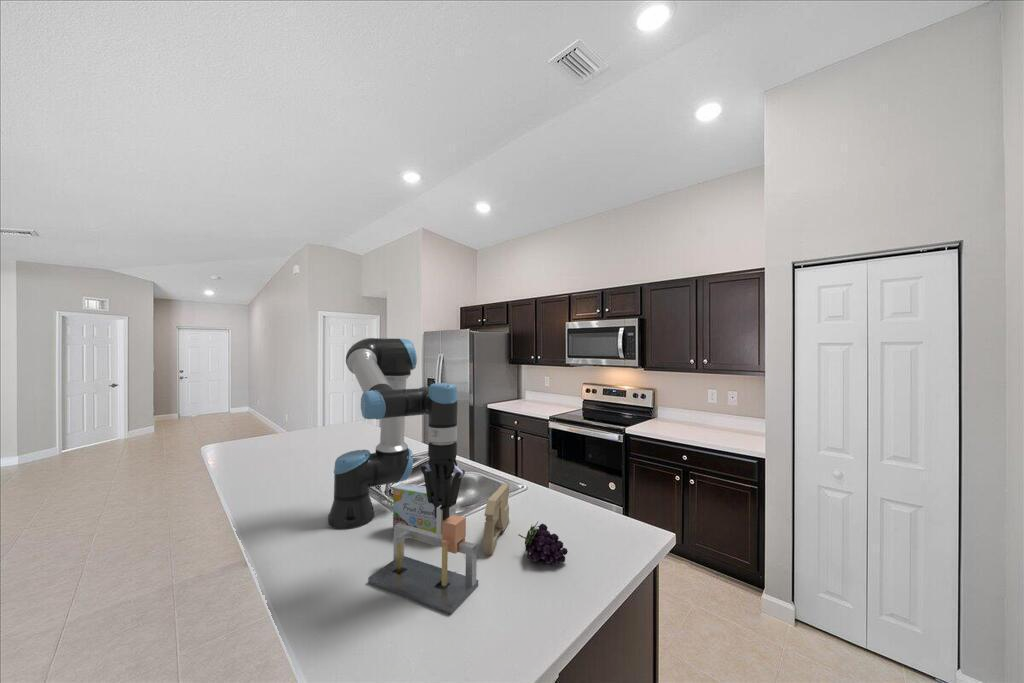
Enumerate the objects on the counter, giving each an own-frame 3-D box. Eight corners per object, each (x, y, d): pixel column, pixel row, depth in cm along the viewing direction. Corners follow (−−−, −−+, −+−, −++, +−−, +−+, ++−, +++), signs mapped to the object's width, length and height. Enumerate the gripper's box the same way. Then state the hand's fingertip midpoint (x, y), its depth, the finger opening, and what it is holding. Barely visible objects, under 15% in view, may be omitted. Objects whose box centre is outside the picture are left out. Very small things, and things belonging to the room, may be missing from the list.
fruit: (559, 581, 104) (509, 559, 108) (566, 556, 114) (520, 536, 118) (567, 550, 102) (516, 529, 106) (574, 527, 112) (526, 508, 116)
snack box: (391, 533, 125) (392, 487, 125) (401, 525, 130) (402, 481, 130) (447, 545, 117) (448, 496, 118) (456, 536, 123) (457, 489, 123)
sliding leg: (436, 583, 95) (437, 525, 95) (452, 569, 101) (453, 514, 101) (449, 588, 93) (450, 528, 93) (465, 573, 99) (465, 517, 100)
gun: (492, 558, 110) (493, 504, 112) (481, 556, 111) (483, 503, 112) (509, 527, 134) (510, 483, 135) (500, 526, 134) (501, 483, 136)
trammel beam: (383, 571, 102) (383, 531, 103) (398, 560, 108) (398, 523, 108) (463, 599, 91) (464, 555, 91) (476, 586, 96) (476, 544, 96)
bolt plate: (368, 583, 98) (368, 577, 98) (400, 560, 109) (400, 555, 109) (450, 615, 86) (451, 608, 86) (478, 585, 97) (478, 580, 97)
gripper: (414, 441, 100) (412, 532, 99) (454, 447, 94) (453, 543, 94) (432, 436, 107) (431, 520, 106) (471, 441, 101) (470, 530, 100)
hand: (441, 531), depth 100 cm, fingers closed
